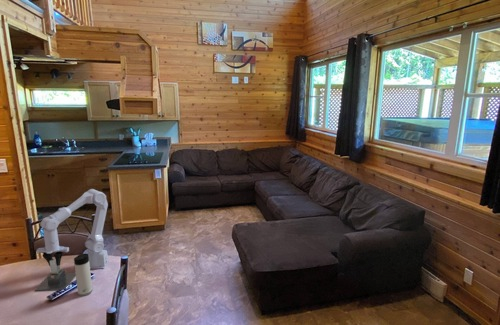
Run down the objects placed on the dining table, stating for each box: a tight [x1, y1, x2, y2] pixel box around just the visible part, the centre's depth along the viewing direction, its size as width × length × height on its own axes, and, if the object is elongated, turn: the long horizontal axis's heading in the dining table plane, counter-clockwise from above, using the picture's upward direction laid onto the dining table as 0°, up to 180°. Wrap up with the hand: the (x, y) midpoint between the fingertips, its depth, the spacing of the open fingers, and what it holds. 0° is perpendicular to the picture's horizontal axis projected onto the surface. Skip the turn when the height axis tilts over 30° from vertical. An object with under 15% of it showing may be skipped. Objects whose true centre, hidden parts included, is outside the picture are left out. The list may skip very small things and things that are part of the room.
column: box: [49, 257, 61, 275], centre depth 156 cm, size 3×3×10 cm
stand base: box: [34, 268, 76, 292], centre depth 157 cm, size 14×14×6 cm
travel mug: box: [73, 253, 93, 297], centre depth 148 cm, size 6×7×20 cm
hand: (54, 264), depth 155 cm, fingers closed on column, 3 cm apart
